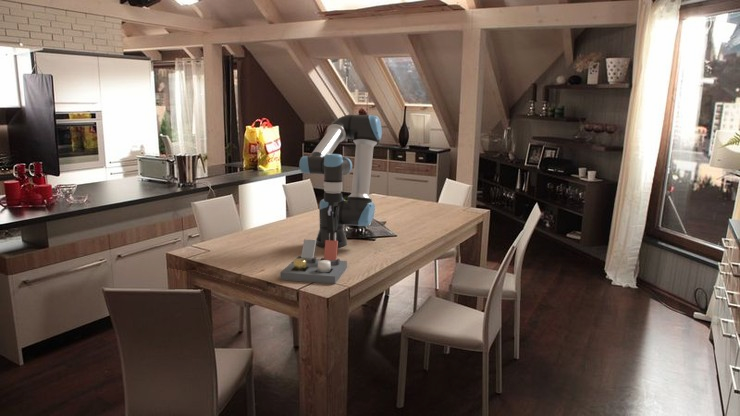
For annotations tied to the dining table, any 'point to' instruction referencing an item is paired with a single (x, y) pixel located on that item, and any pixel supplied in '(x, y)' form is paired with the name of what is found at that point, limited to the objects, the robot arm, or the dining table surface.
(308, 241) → the paddle grey
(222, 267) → the dining table surface
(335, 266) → the panel
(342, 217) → the robot arm
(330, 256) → the paddle red
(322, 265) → the button white
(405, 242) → the dining table surface
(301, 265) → the button brass
